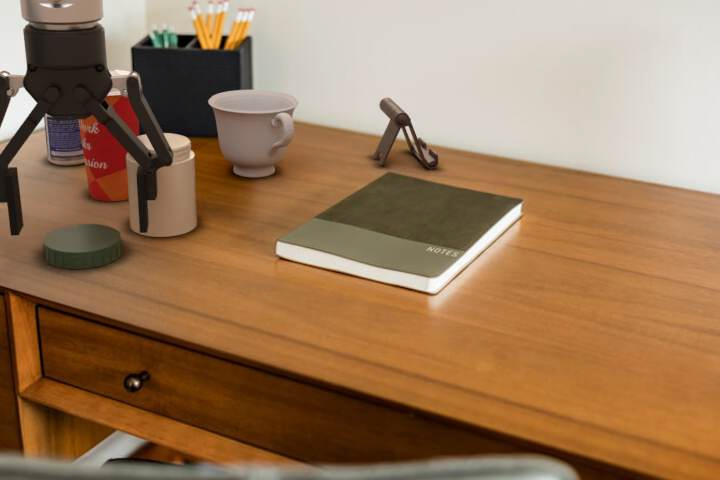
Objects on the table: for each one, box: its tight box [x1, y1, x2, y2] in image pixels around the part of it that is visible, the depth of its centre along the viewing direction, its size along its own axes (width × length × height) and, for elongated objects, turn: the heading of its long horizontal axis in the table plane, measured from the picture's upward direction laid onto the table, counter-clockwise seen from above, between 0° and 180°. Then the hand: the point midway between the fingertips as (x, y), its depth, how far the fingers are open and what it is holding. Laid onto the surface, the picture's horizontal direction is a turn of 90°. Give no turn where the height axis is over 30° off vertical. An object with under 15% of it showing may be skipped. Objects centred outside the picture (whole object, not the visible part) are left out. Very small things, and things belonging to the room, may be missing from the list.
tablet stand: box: [373, 97, 439, 170], centre depth 129 cm, size 9×8×8 cm
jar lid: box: [42, 223, 124, 270], centre depth 96 cm, size 8×8×2 cm
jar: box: [126, 132, 198, 238], centre depth 103 cm, size 8×8×10 cm
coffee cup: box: [78, 69, 143, 202], centre depth 111 cm, size 8×8×15 cm
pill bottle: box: [43, 114, 85, 166], centre depth 123 cm, size 6×6×10 cm
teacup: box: [207, 89, 300, 178], centre depth 121 cm, size 12×15×10 cm
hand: (81, 229), depth 95 cm, fingers open, 12 cm apart
